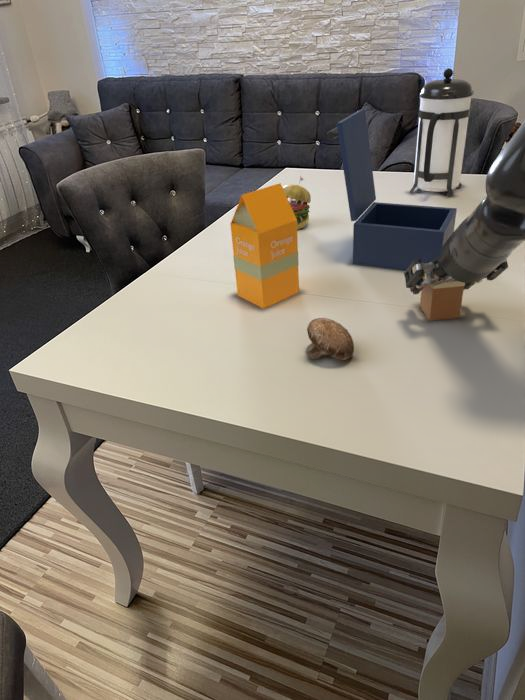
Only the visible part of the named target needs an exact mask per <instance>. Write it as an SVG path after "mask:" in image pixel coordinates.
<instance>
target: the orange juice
mask: <svg viewBox="0 0 525 700" xmlns="http://www.w3.org/2000/svg"><path fill="white" fill-rule="evenodd" d="M282 187H283V185H282V184H281V183H276V184H272V185H270V186H267V187H263V188H260V189H257V190H253V191H251V192H246V193H243V194H241V195H240V199H239V201H238V204H237V206H236V208H235V211H234V214H233V216H232V219H231V222H230V233H231V240H232V241H231V243H232V254H233V255H232V256H233V266H234V270H235V271H234V273H235V282H236V292H237V296H238V297H240V298H242V299H243V300H245V301H247V302H250V303H252V304H254V305H255V306H257V307H259V308H261V309H266V308H268V307H270V306H272V305H275V304H276V303H279V302H281V301H283V300H285V299H287V298H290V297H292V296H294V295H296V294H298V293H300V280H299V279H300V277H299V274H300V273H299V264H300V263H299V245H298V244H299V243H298V230H297V219H296V217H295V214H294V212H293V210H292V208H291V206H290V203H289V201H290V200H289V198H288V199H287V197H286V194H285V192H284V190H283V188H282Z"/></svg>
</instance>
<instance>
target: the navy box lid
mask: <svg viewBox="0 0 525 700" xmlns="http://www.w3.org/2000/svg"><path fill="white" fill-rule="evenodd" d="M326 138H327V140H328V141H333V140H334V139H336V138H338V142H339V149H340V156H341V162H342V170H343V176H344V182H345V189H346V196H347V202H348V209H349V215H350V221H351V222H356V221H357V220H358V219H359V218H360V217H361V216H362V214H363V213H364V212H365V211H366V210H367V209H368V208H369V207H370V206H371V205H372V204H373V203H374V202H376V200H377V196H376V188H375V180H374V172H373V164H372V156H371V155H372V154H371V149H370V147H371V146H370V141H369V131H368V125H367V116H366V109H365V108H363V109H362V108H361V109H358V110H357V111H355V112H354V113H352V114H350V115H348V116H347V117H345V118H343V119H341V120H340V121H338V122H337V123H336V127H335V128H333V129H331V130H329V131H328V132H327V134H326Z"/></svg>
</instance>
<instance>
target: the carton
mask: <svg viewBox="0 0 525 700" xmlns="http://www.w3.org/2000/svg"><path fill="white" fill-rule="evenodd" d="M435 278H436V279H438V278H439V277H438V276H436V275H435ZM426 279H427V277H426V274H425V278H423V280H424V281H425V280H426ZM464 286H465V283H463V282H459V281H457V280H453V281H446V282H444V283H441V284H438V285H436V286H432V285H428V286H425V287H424V288H423V289H422V290H421V291H420V298H419V299H420V300H419V308H420V309H421V311H422V312H423V313H424V316H425V317H426V318H427V319H428V321H429V322H430V321H439V320H441V321H442V320H451V319H459V318H460V316H461V309H462V303H463V296H464V291H465V290H464Z"/></svg>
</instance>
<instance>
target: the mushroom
mask: <svg viewBox="0 0 525 700" xmlns="http://www.w3.org/2000/svg"><path fill="white" fill-rule="evenodd" d="M306 331H307V336H308V339H309V341H310V342H311V343H310V344H309V345H307V347H306V354H307V355H308V357H309V359H311V360H313V361H314V360H317V359H321V358H323V357H326V356H330V357H332V358H334V359H336V360H340V361H346V360H348V359H350V358H351V357H352V356H353V355H354V351H355V345H354V340H353V337H352V335H351V334H350V332H349V330H348V329H347V328H346V327H344V326H343V325H342V324H341V323H340V322H337V321H335V320H334V319H330V318H328V317H327V318H326V317H317V318H314V319H312V320H311V321H310V322H309V323H308V325H307V327H306Z"/></svg>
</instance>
